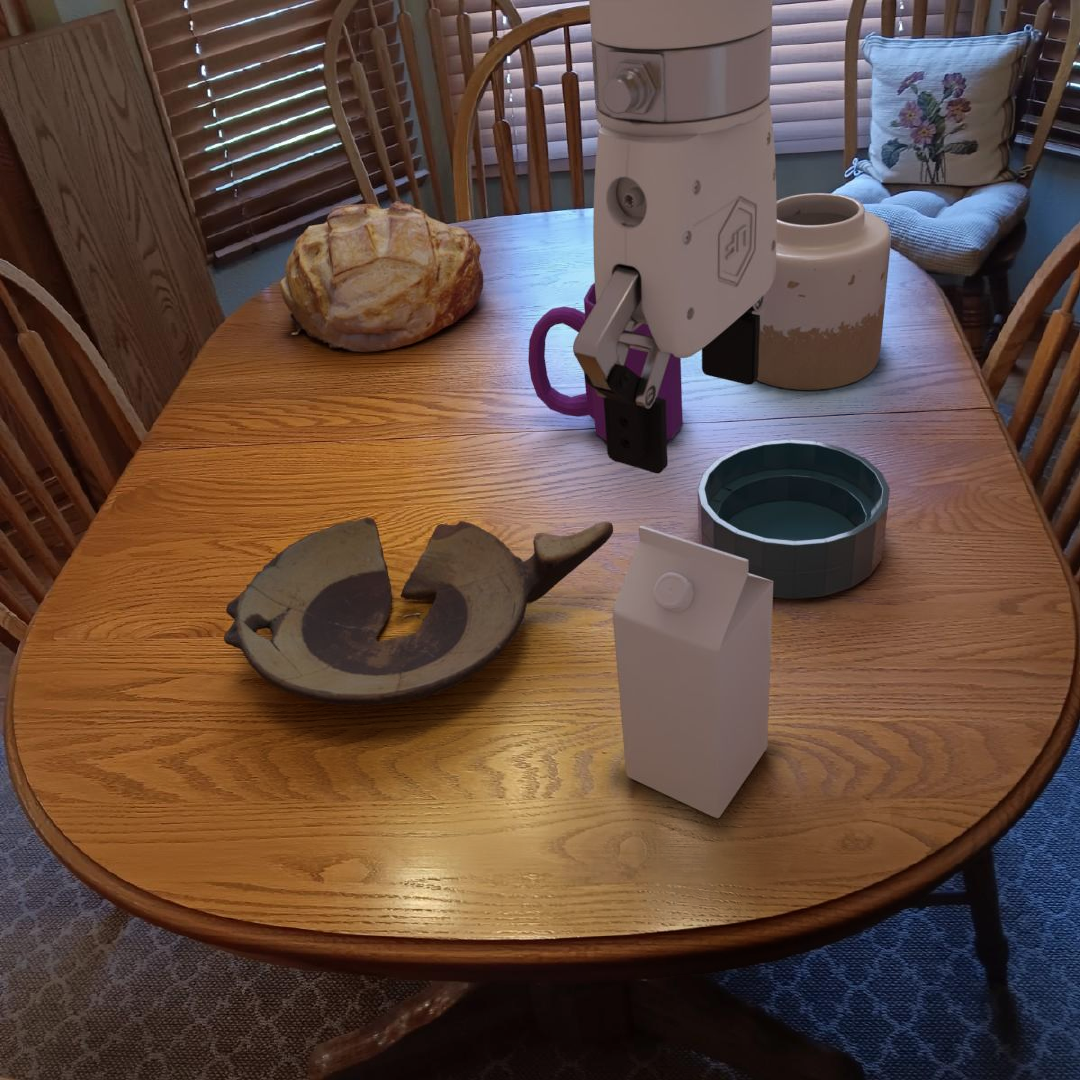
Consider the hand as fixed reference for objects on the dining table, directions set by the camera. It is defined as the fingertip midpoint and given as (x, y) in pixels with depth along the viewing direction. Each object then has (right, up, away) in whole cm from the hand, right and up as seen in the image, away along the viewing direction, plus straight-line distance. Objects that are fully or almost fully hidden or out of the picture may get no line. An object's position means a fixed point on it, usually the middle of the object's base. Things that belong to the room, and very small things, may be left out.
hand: (685, 418), depth 55 cm
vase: (+22, +14, +61) cm, 66 cm away
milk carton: (+3, -22, +16) cm, 28 cm away
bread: (-28, +24, +83) cm, 91 cm away
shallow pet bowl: (+14, -7, +34) cm, 38 cm away
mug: (-1, +5, +54) cm, 54 cm away
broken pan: (-17, -15, +30) cm, 37 cm away
